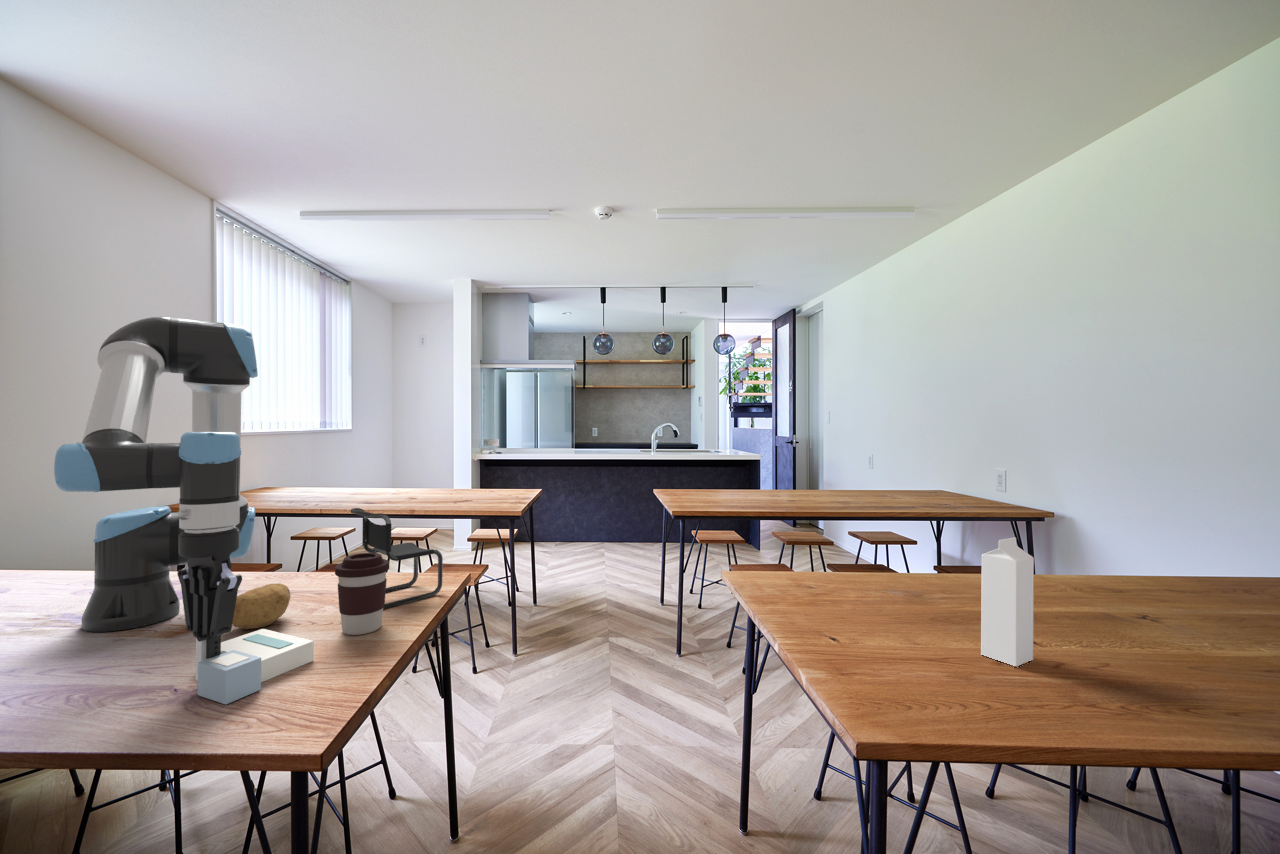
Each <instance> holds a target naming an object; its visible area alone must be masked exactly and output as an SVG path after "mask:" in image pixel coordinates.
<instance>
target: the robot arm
mask: <svg viewBox="0 0 1280 854" xmlns="http://www.w3.org/2000/svg"><path fill="white" fill-rule="evenodd" d="M96 361H97V364H98V367H99V369H100V370H101V372H100V375H99V378H98V382H97V385H96V390H95V393H94V396H93V400H92V403H91V407H90V411H89V416H88V417H87V418H88V419H87V422H86V425H85V429H84V433H83V435H82V439H81V442H80V441H79V442H76V443H65V444H62V445H60V447H58V448H57V450H56V453H55V456H54V464H53V465H54V466H53V471H54V481H55V484H56V486H57V488H58V489H59V490H60V491H64V492H67V493H68V492H70V493H71V492H73V493H74V492H77V493H80V492H81V493H82V492H87V493H88V492H90V493H91V492H93V493H99V492H110V491H111V492H113V491H129V490H130V491H131V490H132V491H133V490H145V489H146V490H148V489H171V488H176V489H177V488H179V506H178V507H179V511H176V512H172V509H171V507H170V506H167V505H162V506H152V507H144V508H137V509H131V510H126V511H121V512H117V513H113V514H109V515H107V516H104V517H102V518H100V519H99V520H98V521H97V523H96V526H95V533H94V539H93V543H94V575H93V576H94V587H93V590H92V593H91V595H90V598H89V600H88V601H87V604H86V606H85V609H84V612H83V613H82V616H81V629H82V630H83V631H85V632H90V633H91V632H92V633H93V632H94V633H106V632H115V631H118V632H119V631H123V630H129V629H136V628H140V627H145V626H149V625H154V624H156V623H157V624H158V623H159V622H163V621H165V620H168V619H171V618H173V617H175V616H176V615H178V614H179V613H180V609H181V608H180V605H181V604H180V599H179V597H178V593H176V590H175V588H174V585H173V583H172V581H171V579H170V568H171V567H173V566H182V565H187V567H186V568H182V569H178V571H177V577H178V580H179V583H180V590H181V596H182V603H183V612H184V621H185V627H186V628H185V629H186V631H187V632H191V631H192V635H193V637H194V638H195V681H197V682H198V662H200V661H203V660H206V659H209V658H212V657H215V656H218V655H221V642H222V636H223V635H225V634H228V633H231V631H232V627H233V624H232V623H233V617H234V611H235V605H236V599H237V596H238V592H239V588H240V586H241V584H242V581H243V576H242V574H240V573H239V574H236V575H235V574H234V573H233V572H232V561H231V560H233V559H237V558H242V557H244V556H245V555H247V554H248V552H249V551H250V547H251V544H252V538H253V533H254V527H255V518H256V509H255V507H253V506H248V505H249V500H248V499H247V498H246V497H245V496H244V495H242V494H241V456H242V447H241V445H242V443H241V440H242V439H241V437H242V392H243V391H244V390H246V389H247V388H249V387H250V383H251V382H250V381H251V379H254V378H257V377H258V376H259V375H258V367H257V365H258V364H257V355H256V351H255V344H254V338H253V334H252V331H251V329H249V328H248V327H247V326H244V325H241V324H240V325H239V324H233V323H228V322H224V321H223V322H219V321H218V322H217V321H208V320H207V321H205V320H197V319H189V318H187V319H186V318H175V317H174V318H173V317H170V316H168V317H167V316H153V317H152V316H151V317H146V318H141V319H139V320H135V321H133V322H129V323H128V324H126V325H124V326H122V327H120V328H118V329H117V330H115V331H114V332H112V333H111V334H110V335H108V337H107V338H106V339H105V340H104V341H103V343H102V344H101V346H100V348H99V351H98V354H97V359H96ZM163 373H171V374H182V376H183V377H182V382H183V384H185V385H186V386H187V387H188V388H190V390H191V393H192V394H191V395H192V396H191V397H192V398H191V399H192V401H191V410H192V412H191V413H192V414H191V416H192V417H191V418H192V419H191V420H192V421H191V423H192V424H191V431H189V432H185V433H183V434H182V435H181V437H180V442H165V443H164V442H160V443H158V442H157V443H156V442H147V438H148V430H149V426H150V425H149V424H150V418H151V413H152V405H153V398H154V391H155V387H156V380H157V379H158V378H159V377H160V376H162V374H163Z"/></svg>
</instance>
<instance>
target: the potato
mask: <svg viewBox="0 0 1280 854" xmlns="http://www.w3.org/2000/svg"><path fill="white" fill-rule="evenodd" d="M290 601H291V592H290V589H289V587H288V585H285V584H284V583H280V582H279V583H269V584H265V585H262V586H258V587H256V588H253V589H252V588H251V589H250V590H247V591H245V592H242V593H241V594H237V599H236V605H235V611H234V617H233V623H232V626H234V627H236V628H241V629H261V628H264V627H267V626H269V625H271V624H273V623H274V622H276V621H277V620H278V619H280V618H281V617H282V616H283V615H284V614H285V613H286V611H287V609H288V606H289V604H290Z"/></svg>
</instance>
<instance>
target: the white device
mask: <svg viewBox="0 0 1280 854" xmlns="http://www.w3.org/2000/svg"><path fill="white" fill-rule="evenodd" d="M314 643H315V642H314V640H311V639H307V638H302V637H299V636H295V635H290V634H287V633H282V632H278V631H274V630H270V629H266V628H259V629H258V630H255V631H252V632H249V633H245V634H243V635H239V636H237V637H234V638H233V637H232V638H230V639H227V640H224V641H221V654H224V653H226V652H229V651H232V650H236V651H239V652H243V653H246V654H250V655H254V656H257V657H261V683H263V682H265V681H268V680H270V679H272V678H275V677H277V676H280V675H283V674H285V673H287V672H290V671H292V670H294V669H296V668H299V667H302V666H304V665H306V664H309V663H311V662H314V654H315V653H314V651H315V650H314V648H315V647H314Z"/></svg>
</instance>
